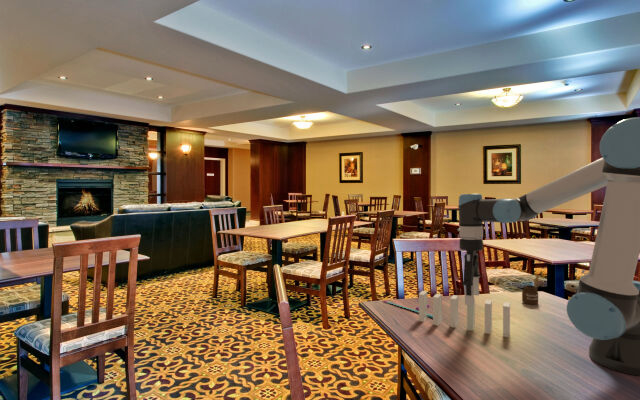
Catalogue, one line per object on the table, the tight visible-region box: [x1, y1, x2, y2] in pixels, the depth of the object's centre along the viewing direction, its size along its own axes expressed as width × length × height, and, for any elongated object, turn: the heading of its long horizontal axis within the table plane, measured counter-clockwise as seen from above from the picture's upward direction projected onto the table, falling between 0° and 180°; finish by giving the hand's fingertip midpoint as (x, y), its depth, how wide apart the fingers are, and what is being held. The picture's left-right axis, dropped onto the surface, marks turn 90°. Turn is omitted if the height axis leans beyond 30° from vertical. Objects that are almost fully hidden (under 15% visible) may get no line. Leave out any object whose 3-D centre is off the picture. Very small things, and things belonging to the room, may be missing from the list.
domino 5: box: [484, 299, 493, 335], centre depth 119 cm, size 2×5×10 cm, turn 149°
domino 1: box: [418, 290, 428, 323], centre depth 131 cm, size 2×5×10 cm, turn 149°
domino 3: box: [449, 294, 459, 328], centre depth 125 cm, size 2×5×10 cm, turn 149°
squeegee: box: [382, 300, 433, 319], centre depth 143 cm, size 29×2×10 cm
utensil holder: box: [521, 274, 540, 306], centre depth 149 cm, size 6×6×12 cm
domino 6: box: [502, 301, 511, 338], centre depth 117 cm, size 2×5×10 cm, turn 149°
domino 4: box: [466, 297, 476, 331], centre depth 122 cm, size 2×5×10 cm, turn 150°
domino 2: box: [432, 293, 443, 327], centre depth 127 cm, size 2×5×10 cm, turn 148°
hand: (472, 299), depth 122 cm, fingers open, 13 cm apart
